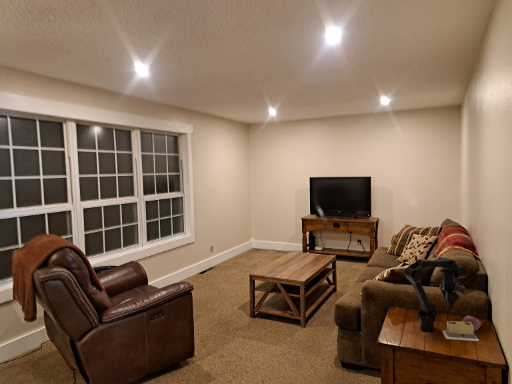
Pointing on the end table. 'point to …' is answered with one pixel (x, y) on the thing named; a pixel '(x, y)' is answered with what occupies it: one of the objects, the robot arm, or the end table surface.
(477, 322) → the video game controller
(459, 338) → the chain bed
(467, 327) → the gold cutout plate
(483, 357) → the end table surface
